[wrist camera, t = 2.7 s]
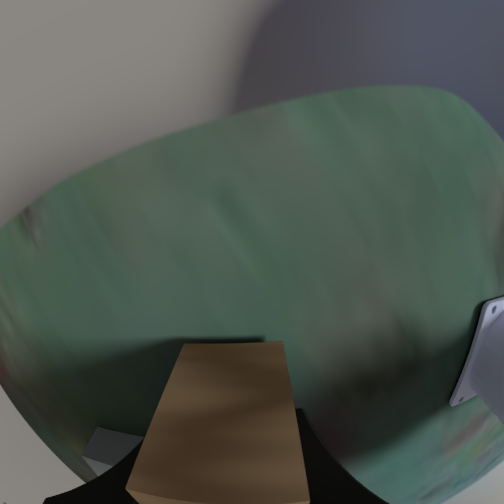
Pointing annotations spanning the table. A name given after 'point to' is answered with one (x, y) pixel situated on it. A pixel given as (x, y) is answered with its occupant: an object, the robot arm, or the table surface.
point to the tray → (108, 448)
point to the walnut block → (223, 431)
